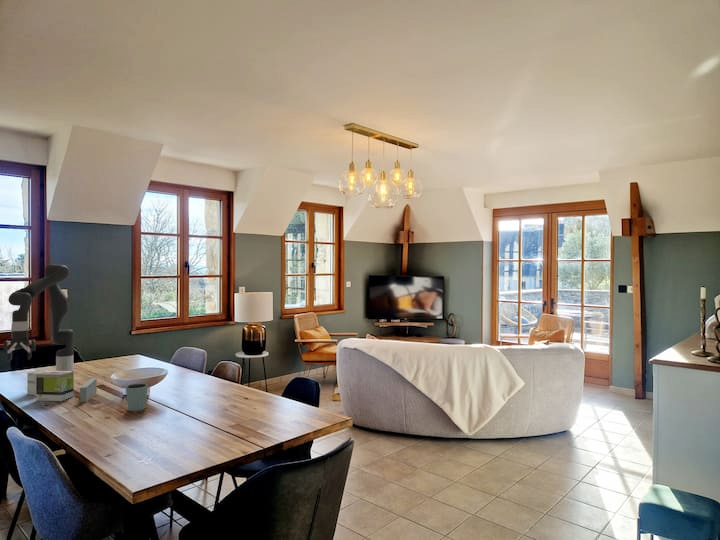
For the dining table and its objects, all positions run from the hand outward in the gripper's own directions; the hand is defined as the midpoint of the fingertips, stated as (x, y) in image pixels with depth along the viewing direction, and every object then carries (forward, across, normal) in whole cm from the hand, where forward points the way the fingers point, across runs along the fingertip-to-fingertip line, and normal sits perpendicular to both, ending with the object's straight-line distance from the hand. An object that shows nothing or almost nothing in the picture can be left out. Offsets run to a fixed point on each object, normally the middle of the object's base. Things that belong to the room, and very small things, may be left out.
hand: (19, 359), depth 263 cm
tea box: (+23, -17, 0) cm, 28 cm away
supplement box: (+22, -4, -15) cm, 27 cm away
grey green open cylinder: (+23, -62, +32) cm, 73 cm away
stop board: (+22, -33, 0) cm, 40 cm away
